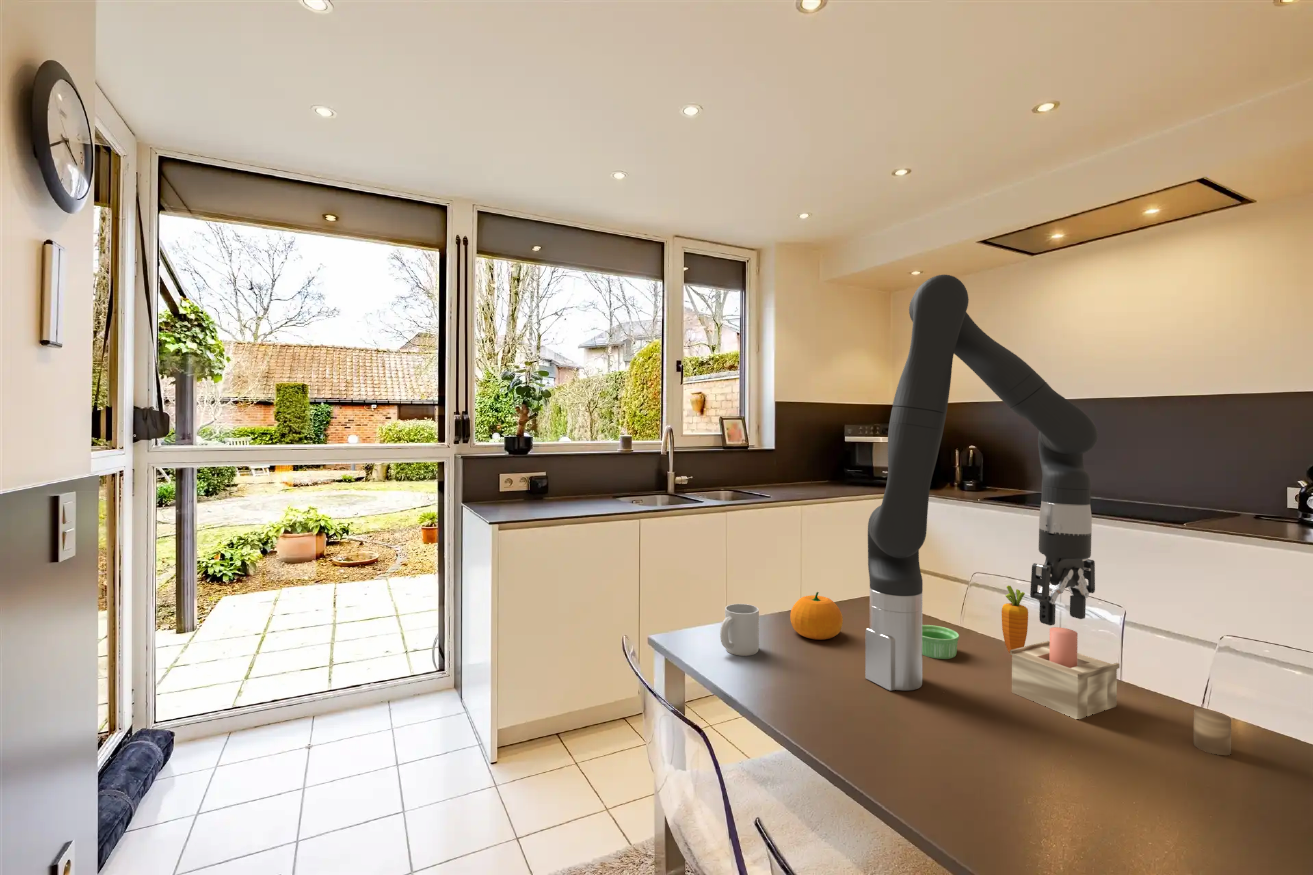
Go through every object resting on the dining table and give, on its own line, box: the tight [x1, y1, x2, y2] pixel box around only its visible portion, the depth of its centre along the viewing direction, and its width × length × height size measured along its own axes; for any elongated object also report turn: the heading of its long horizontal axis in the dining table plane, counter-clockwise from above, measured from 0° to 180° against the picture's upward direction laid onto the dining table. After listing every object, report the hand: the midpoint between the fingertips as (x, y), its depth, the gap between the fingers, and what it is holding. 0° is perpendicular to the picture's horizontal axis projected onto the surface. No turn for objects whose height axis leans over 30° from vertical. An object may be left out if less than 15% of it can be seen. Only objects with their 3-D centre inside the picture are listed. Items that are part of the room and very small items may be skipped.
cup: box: [719, 603, 760, 657], centre depth 125 cm, size 7×10×9 cm
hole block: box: [1009, 640, 1120, 720], centre depth 102 cm, size 11×12×8 cm
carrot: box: [1001, 585, 1029, 658], centre depth 120 cm, size 5×5×15 cm
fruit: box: [789, 591, 844, 641], centre depth 135 cm, size 12×12×10 cm
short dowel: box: [1193, 708, 1232, 756], centre depth 87 cm, size 4×4×5 cm
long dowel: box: [1049, 626, 1078, 668], centre depth 102 cm, size 4×4×12 cm
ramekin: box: [922, 624, 960, 660], centre depth 124 cm, size 9×9×4 cm
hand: (1062, 620), depth 102 cm, fingers open, 8 cm apart
